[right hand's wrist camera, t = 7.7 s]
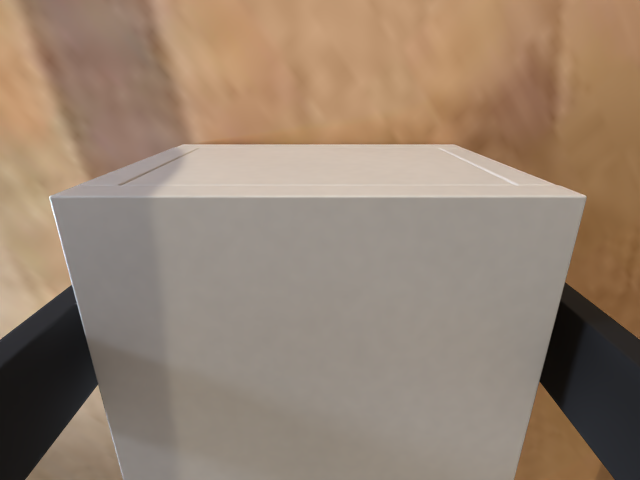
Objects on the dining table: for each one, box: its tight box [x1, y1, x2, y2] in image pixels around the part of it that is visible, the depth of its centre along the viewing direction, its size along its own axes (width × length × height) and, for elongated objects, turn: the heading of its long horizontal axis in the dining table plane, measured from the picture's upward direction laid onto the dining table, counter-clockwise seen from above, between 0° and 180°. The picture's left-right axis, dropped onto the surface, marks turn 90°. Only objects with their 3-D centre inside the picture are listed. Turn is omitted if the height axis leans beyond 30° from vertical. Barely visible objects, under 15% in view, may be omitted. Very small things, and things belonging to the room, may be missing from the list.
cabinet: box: [50, 144, 587, 480], centre depth 15 cm, size 17×11×8 cm
